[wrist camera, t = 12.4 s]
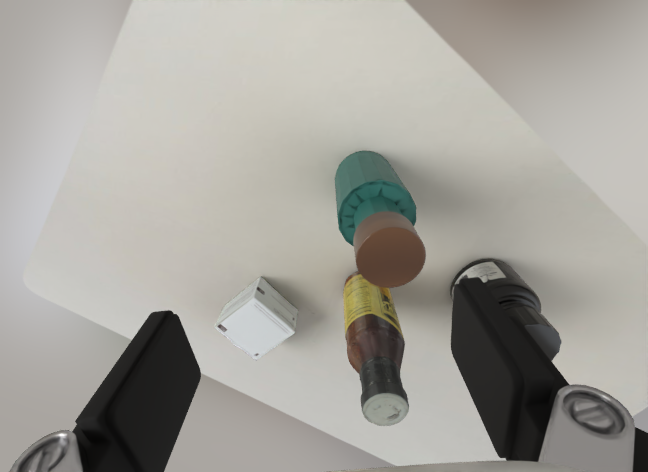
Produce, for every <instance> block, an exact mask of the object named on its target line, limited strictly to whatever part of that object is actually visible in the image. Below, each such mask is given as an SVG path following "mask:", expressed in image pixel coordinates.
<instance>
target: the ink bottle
mask: <svg viewBox="0 0 648 472" xmlns="http://www.w3.org/2000/svg"><path fill="white" fill-rule="evenodd" d="M473 277H479V278H480V279H481V280H482V281H483V282H484V284H485V285H486V286H487V288H488V289H489V291H490V292H491V293H492V295H493V296H494V297H495V299H496V300H497V301H498V303H499V304H500V305H501V307H502V308H503V309H504V311H505V312H506V313H507V315H514V316H516V317H517V318H518V319H519V321H520V322H521V323H522V324H523V326H524V327H525V328H526V330H527V331H528V332H529V333H530V335H531V336H532V337H533V339H534V340H535V341H536V342H537V344H538V345H539V346H540V348H541V349H542V350H543V351H544V353H545V354H546V355H547V357H548V358H549V359H550V361H552V360H553V358H554V357H555V355H556V354H557V353H558V352H559V348H560V344H561V340H560V337H559V333H558V332H557V331H556V330H555V328H554V327H553V326H552V325H551V324H550V323H549V322H548V321H547V319H546V318H545V317H544V316H543V315H542V314H541V303H540V300H539V298H538V296H537V295H536V293H535V292H534V291H533V290H532V289H531V288H530V287H529V286H528V285H527V284H526V283H525V281H524V280H523V279H522V278H521V277H520V276H519V275H518V274H517V273H516V272H515V271H514V270H513V269H512V268H511V267H510V266H509V265H507V264H506V263H504V262H501V261H498V260H492V259H483V260H478V261H475V262H472V263H470V264H469V265H467V266H466V267H464V268H463V269H462V270H461V271H460V272H459V273H458V274H457V275H456V277H455V278H454V280H453V282H452V285H451V289H450V295H451V299H452V301H453V291H454V284H459V281H460V279H464V278H473Z"/></svg>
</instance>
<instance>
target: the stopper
mask: <svg viewBox="0 0 648 472" xmlns="http://www.w3.org/2000/svg"><path fill="white" fill-rule="evenodd" d="M353 245H354V252H355V258H356V264H357V268H358V271H359V273H360V274H361V275H362V277H363V278H364V279H365V280H367V281H368V282H369V283H371V284H373V285H376V286H379V287H385V288H392V287H398V286H401V285H404V284H406V283H408V282H410V281H411V280H413V279H414V278H415V277H416V276H417V275H418V274H419V272H420V271H421V269H422V268H423V265H424V263H425V257H426V252H425V247H424V245H423V242H422V241H421V239H420V237H419V235H418V234H417V232H416V230H415V228H414V226H413V225H412V223H411V222H410V221H409V220H408V219H407V218H406V217H405V216H403V215H401V214H399V213H396V212H390V211H383V212H378V213H374V214H372V215H370V216H368V217H367V218H365V219H364V220H363V221H362V222H361V223H360V224H359V226H358V227H357V229H356V231H355V233H354V238H353Z"/></svg>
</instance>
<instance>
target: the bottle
mask: <svg viewBox="0 0 648 472" xmlns="http://www.w3.org/2000/svg"><path fill="white" fill-rule="evenodd" d="M335 187H336V201H337V215H338V224H339V230H340V232H341V233H342V235H343V237H344V238H345V240H346V241H347V242H348V243H349V244H351V245H352V246H354V245H353V238H354V233H355V231H356V229H357V227H358V226H359V224H360V223H361V222H362V221H363V220H364V219H365V218H367V217H368V216H370V215H372V214H374V213H378V212H383V211H390V212H396V213H399V214H401V215H403V216H405V217H406V218H407V219H408V220H409V221H410V222H411V223H412V225H413V226H414V225H415V222H416V206H415V203H414V201H413V199H412V197H411V195H410V193H409V192H408V190H407V189H406V188H405V186H404V185H403V183H402V182H401V180H400V179H399V177H398V176H397V174H396V173H395V171H394V170H393V168H392V167H391V165H390V164H389V163H388V161H387V160H385V159H384V158H383V157H382V156H381V155H379V154H377V153H375V152H371V151H359V152H356V153H353V154H351V155H349V156H348V157H346V158H345V159H344V160H343V161H342V162H341V164H340V165H339V167H338V169H337V172H336V177H335Z"/></svg>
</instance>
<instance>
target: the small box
mask: <svg viewBox="0 0 648 472" xmlns="http://www.w3.org/2000/svg"><path fill="white" fill-rule="evenodd" d="M297 315H298V310H297V309H296V308H295V307H294V306H293V305H291V304H290V303H289V302H288V301H287V300H286V299H285V298H284V297H283V296H282V295H280V294H279V293H278V292H277V291H276V290H275V289H274V288H273V287H272V286H271V285H270V284H268V283H267V282H266V281H265V280H264V279H263V278H262V277H259V278H258V279H257V280H256V281H255V282H253V283H252V284H251V285H250V286H248V287H247V288H246V289H244V290H243V291H242V292H241V293H239V294H238V295H237V296H236V297H234V298H233V299H232V300H231V301H230V302H228V303H227V304H226V305H225V306H224V308H223V310H222V312H221V314H220V317H219V319H218V321H217V323H216V325H215V327H214V328H215V329H216V330H218V331H219V332H220V333H221V334H223V335H224V336H225V337H226V338H228V339H229V340H230V341H231V342H232V344H233V345H234V346H236V347H238V348H240V349H242V350H243V351H244V352H245V353H247V354H248V355H249V356H251V357H252V358H253V359H254V360H257V359H259V358H260V357H262V356H263V355H265V354H266V353H268V352H269V351H270V350H272V349H273V348H274V347H276V346H277V345H279V344H280V343H282V342H283V341H284V340H286V339H287V338H289V337H290V336H292V335H293V334H295V329H296V322H297Z"/></svg>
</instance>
